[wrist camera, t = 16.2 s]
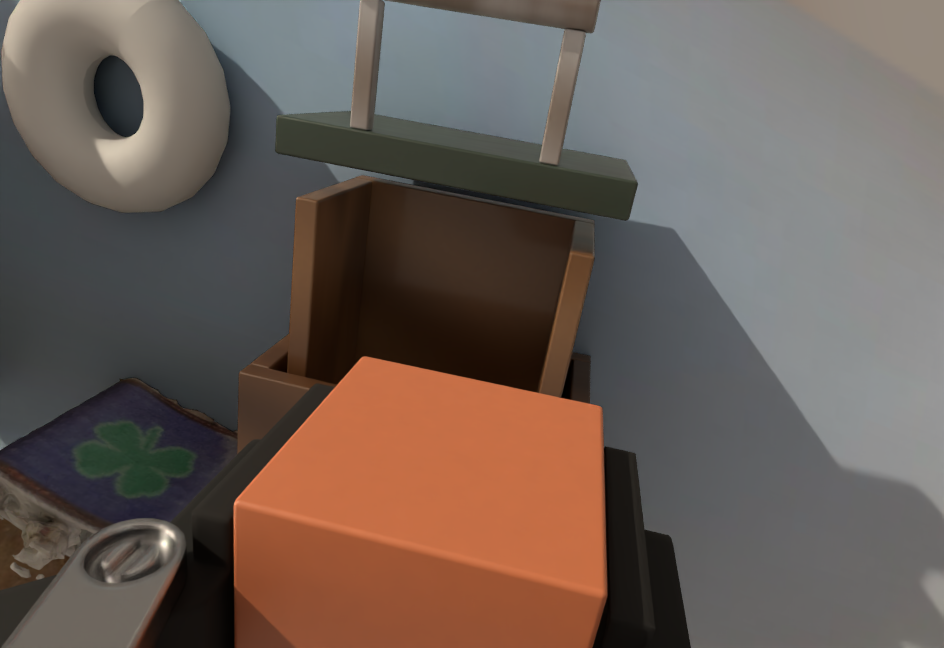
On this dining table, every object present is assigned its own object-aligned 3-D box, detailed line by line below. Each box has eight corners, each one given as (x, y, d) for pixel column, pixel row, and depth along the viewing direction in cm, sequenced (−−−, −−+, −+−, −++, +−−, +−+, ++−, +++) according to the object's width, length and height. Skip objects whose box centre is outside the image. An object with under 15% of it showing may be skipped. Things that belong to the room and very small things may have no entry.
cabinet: (332, 298, 30) (237, 371, 22) (591, 355, 28) (590, 455, 20) (313, 536, 35) (232, 664, 27) (530, 594, 34) (510, 747, 26)
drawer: (365, -34, 24) (275, -85, 17) (663, 12, 22) (693, -25, 16) (330, 393, 31) (256, 476, 24) (556, 447, 29) (545, 550, 23)
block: (362, 354, 11) (230, 500, 7) (603, 404, 11) (609, 596, 7) (347, 544, 13) (233, 751, 9) (556, 596, 12) (536, 843, 8)
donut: (38, 155, 30) (217, 241, 30) (-30, 161, 27) (171, 258, 27) (63, -66, 26) (270, 30, 26) (-11, -89, 23) (223, 20, 23)
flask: (270, 446, 33) (133, 594, 24) (254, 485, 35) (117, 640, 25) (121, 366, 34) (-77, 479, 24) (110, 407, 35) (-84, 531, 25)
